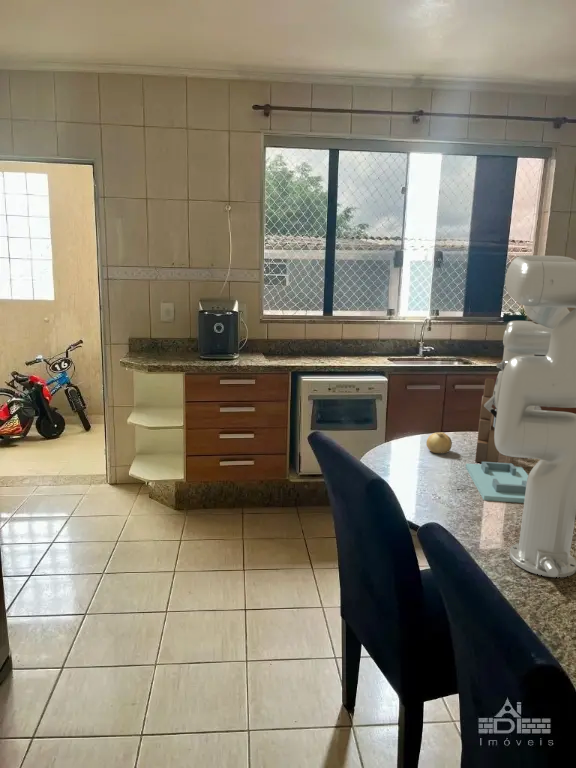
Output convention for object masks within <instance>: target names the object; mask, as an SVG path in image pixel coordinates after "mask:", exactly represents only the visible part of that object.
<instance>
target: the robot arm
mask: <svg viewBox="0 0 576 768" xmlns="http://www.w3.org/2000/svg"><path fill="white" fill-rule="evenodd" d="M505 289H506V292H507V293H508V295H509V296H510V297H511V298H512V299H513V300H514V301H516V303H517V304H519V305H522V306H523V309H524V312H525V314H526V316H527V317H528V318H529V319H530V320H531V321H530V320H529V321H528V320H511V321H508V323H507V324H506V329H505V330H504V332H503V339H502V340H503V341H502V343H503V355H502V360H501V361H500V362H497V363H496V368H497V369H500V370H499V371H498V374H497V377H496V380H495V382H494V391H493V396H492V397H491V398H490V399H489V400H488V401H487V402H486V403H485V404H484V407H485V408H486V409H487V410H488V411H490V412H491V415H492V414H493V415H494V417H495V418H496V419H495V432H494V442H495V446H496V449H497V450H498V451H499V454H501V455H503V456H506V457H512V458H520V459H533V460H535V459H536V460H539V461H538V462H537V463H535V465H534V466H533V468H532V469H530V471H529V474H528V478H527V484H526V492H525V500H524V503H523V510H522V517H521V518H522V519H521V523H520V524H521V526H520V533H519V541H518V542H517V543H515V544H513V545H511V547H510V549H509V557H510V559H511V561H512V562H513V563H514V564H515V565H516V566H518V567H519V568H521V569H523V570H525V571H527V572H528V573H529V572H530V573H532V574H534V575H537V574H538V576H541V575H542V577H547V578H556V577H557V578H559V577H560V578H567V576H568V577H570V576H572V575H574V574H575V573H576V558H575V557H573V556H572V554H571V549H572V543H573V542H572V541H573V537H574V528H575V523H576V413H573V412H569V411H560V410H559V411H556V410H543V409H542V408H541V407H546V408H564V409H565V408H566V409H567V408H569V409H571V408H573V409H574V408H576V259H574V258H572V257H569V256H562V255H538V254H537V255H528V254H527V255H525V254H524V255H520V256H517V257H515V258H514V259H513V260H512V261H511V263H510V264H509V266H508V267H507V270H506V275H505ZM570 308H572V310H571V311H570ZM491 406H492V407H491ZM493 406H494V407H495V409H497V410H496V411H495V409H494V408H493ZM557 578H556V579H557Z"/></svg>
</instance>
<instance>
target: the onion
mask: <svg viewBox="0 0 576 768" xmlns="http://www.w3.org/2000/svg"><path fill="white" fill-rule="evenodd" d="M425 443H426V447H427V449H428V450H429V451H430V452H431V453H433V454H440V455H441V454H447V453H449V452H450V451H451V449H452V446H453V441H452V439H451V437H450V436H449V435H448V434H446V433H445V432H442V431H441V432H440V431H439V432H434V433H431V434H430V435H429V436H428V437H427V439H426V442H425Z"/></svg>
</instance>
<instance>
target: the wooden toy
mask: <svg viewBox="0 0 576 768" xmlns="http://www.w3.org/2000/svg"><path fill="white" fill-rule="evenodd" d="M495 383H496V380H495V379H494V378H485V380H484V387H483V395H482V396H481V405H480V413H479V422H478V431H477V440H476V441H477V442H476V449H475V450H476V451H475V463H479V464H482V462H497V463H499V462H498V461H499V454H500V452H499V451H498V450H497V449H496V446H495V442H494V432H495V428H494V427H493V424H494V415H493V414H492V413H491V412H490V411H488V410H487V409H486V408H485V407H484V404H485V403H486V402H487V401H488V400H489V399H490V398H491V397H492V396H493V393H494V388H495ZM491 407H492V408H493V405H492V406H491Z"/></svg>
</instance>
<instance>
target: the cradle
mask: <svg viewBox="0 0 576 768" xmlns="http://www.w3.org/2000/svg"><path fill="white" fill-rule="evenodd" d="M465 470H466V471H467V473H468V474H469V476H470V478H471V480H472V481H473V484H474V485H475V487H476V488H477V490H478V493H479V494H480V496H481V498H482V500H483V501H488V502H489V501H493V502H503V503H504V502H505V503H506V502H507V503H519V504H521V503H522V504H524V500H525V492H526V484H527V478H528V475H529V474H528V472H526V470H524V468H523V466H515V465H514V464H513V463H510V462H509V463H508V462H482V463H465Z"/></svg>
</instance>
